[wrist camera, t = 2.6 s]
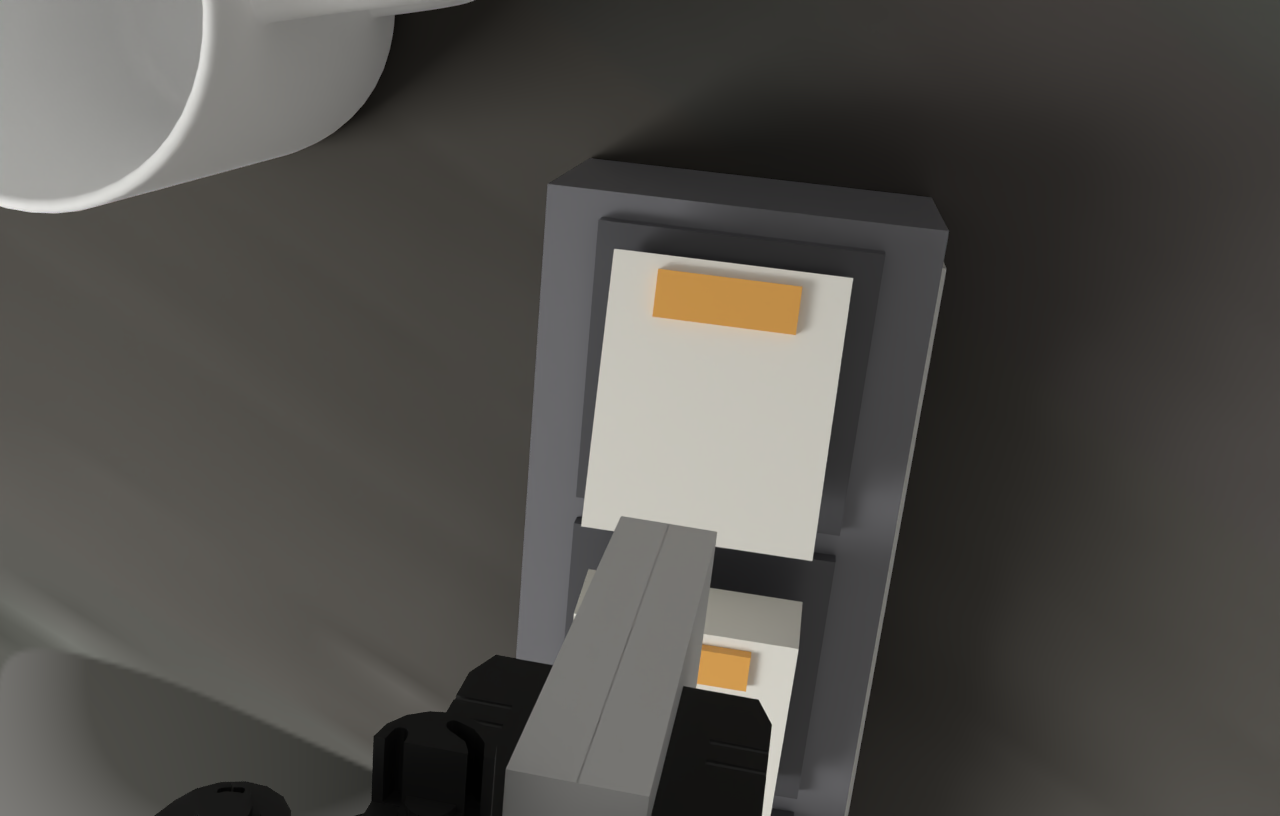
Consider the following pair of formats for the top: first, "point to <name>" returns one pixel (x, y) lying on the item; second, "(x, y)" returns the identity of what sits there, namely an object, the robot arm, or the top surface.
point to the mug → (175, 89)
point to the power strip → (860, 436)
